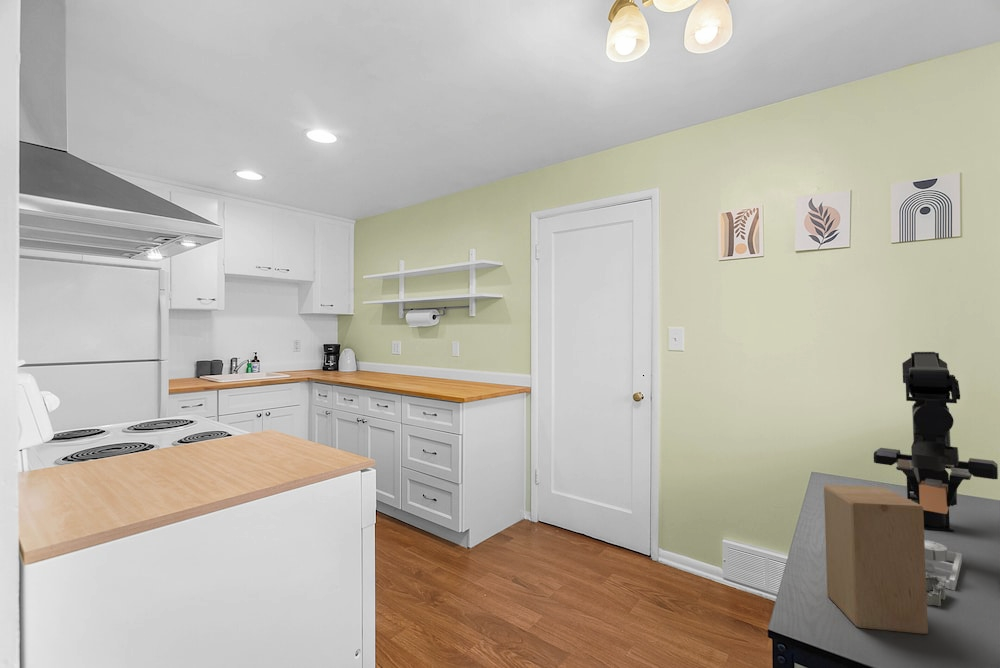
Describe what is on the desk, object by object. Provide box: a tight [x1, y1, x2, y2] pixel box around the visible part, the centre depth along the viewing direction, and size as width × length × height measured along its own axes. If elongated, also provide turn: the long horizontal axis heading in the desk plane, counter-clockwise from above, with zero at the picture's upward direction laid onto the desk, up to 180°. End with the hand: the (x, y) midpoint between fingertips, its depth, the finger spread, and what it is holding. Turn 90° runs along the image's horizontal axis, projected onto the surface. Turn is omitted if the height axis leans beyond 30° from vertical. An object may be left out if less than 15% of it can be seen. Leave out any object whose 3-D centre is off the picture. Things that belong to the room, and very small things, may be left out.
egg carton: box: [926, 573, 946, 607], centre depth 85 cm, size 11×8×4 cm
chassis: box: [925, 550, 963, 591], centre depth 93 cm, size 16×8×2 cm, turn 132°
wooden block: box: [823, 484, 929, 635], centre depth 78 cm, size 10×10×20 cm
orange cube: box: [919, 478, 950, 514], centre depth 97 cm, size 5×4×6 cm
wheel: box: [924, 539, 949, 562], centre depth 90 cm, size 5×5×2 cm
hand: (934, 503), depth 97 cm, fingers closed on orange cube, 4 cm apart
